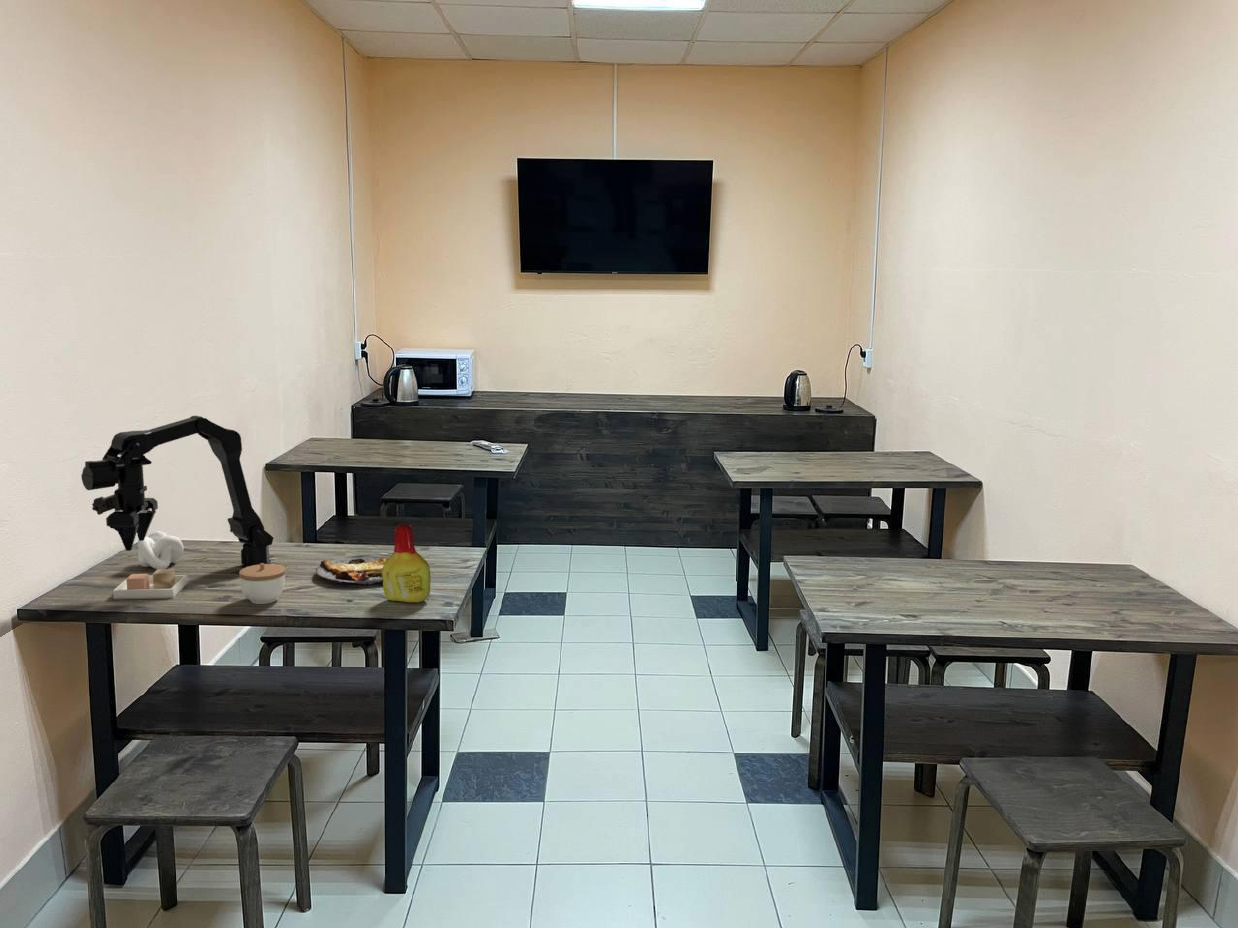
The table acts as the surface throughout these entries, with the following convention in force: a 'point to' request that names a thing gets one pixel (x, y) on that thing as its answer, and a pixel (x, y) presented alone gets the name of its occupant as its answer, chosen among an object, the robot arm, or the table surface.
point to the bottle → (405, 570)
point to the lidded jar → (262, 582)
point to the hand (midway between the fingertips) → (135, 545)
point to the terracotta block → (138, 581)
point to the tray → (150, 590)
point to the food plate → (353, 569)
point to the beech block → (164, 578)
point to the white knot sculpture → (159, 550)
